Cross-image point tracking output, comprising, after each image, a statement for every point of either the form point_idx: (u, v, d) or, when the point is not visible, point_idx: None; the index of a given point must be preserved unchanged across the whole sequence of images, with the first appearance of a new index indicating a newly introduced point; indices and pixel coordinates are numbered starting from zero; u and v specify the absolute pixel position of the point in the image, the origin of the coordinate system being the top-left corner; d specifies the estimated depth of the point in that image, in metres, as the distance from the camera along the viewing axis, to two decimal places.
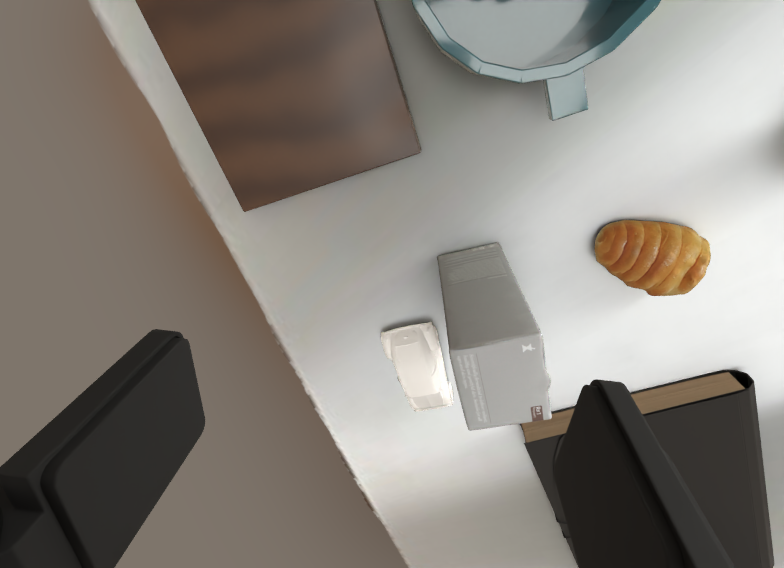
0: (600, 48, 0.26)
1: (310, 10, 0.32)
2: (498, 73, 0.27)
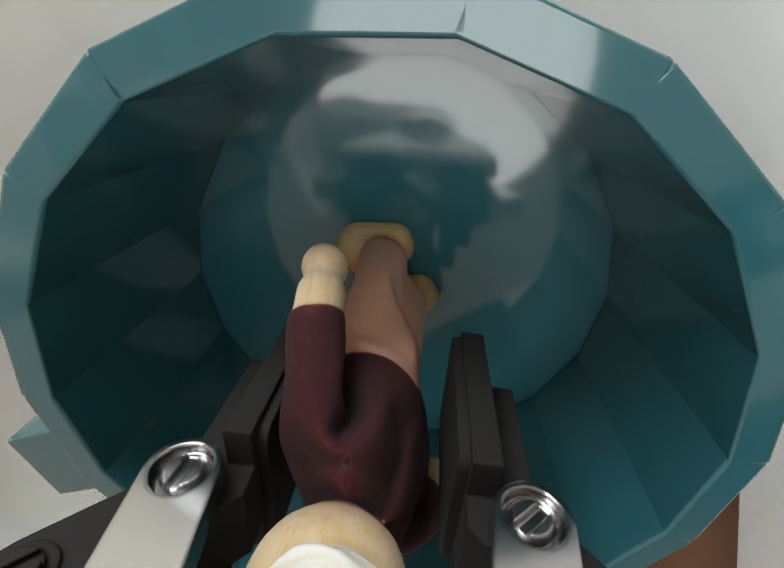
0: (761, 255, 0.07)
1: None
2: (711, 508, 0.09)
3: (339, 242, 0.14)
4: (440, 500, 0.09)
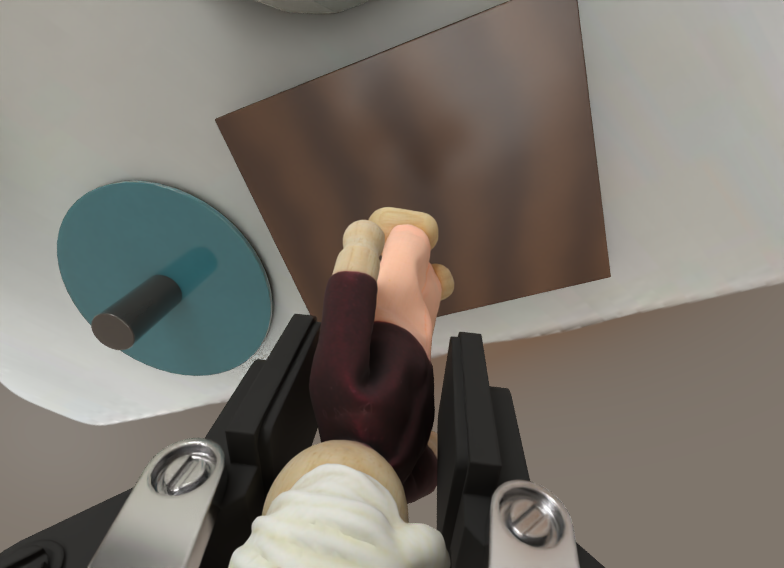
0: None
1: (375, 149, 0.26)
2: None
3: None
4: (438, 499, 0.09)
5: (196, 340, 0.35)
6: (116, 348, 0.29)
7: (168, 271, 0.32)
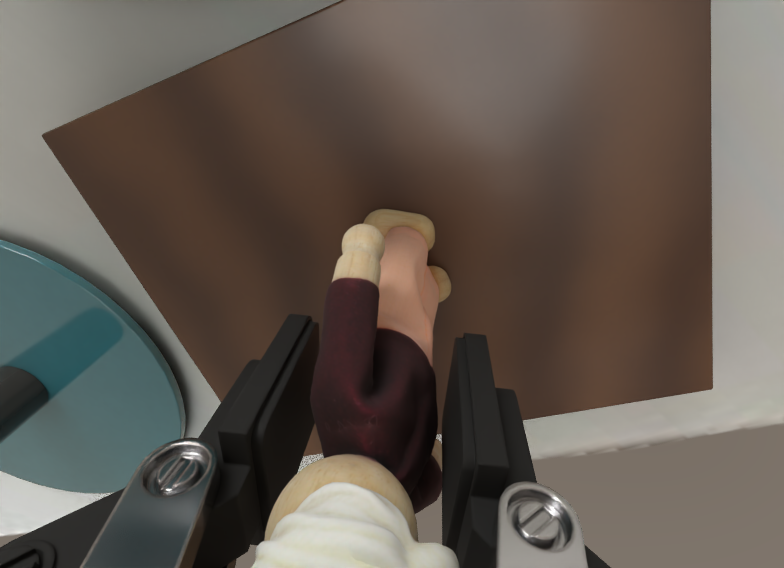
0: None
1: (319, 186, 0.15)
2: None
3: None
4: (443, 501, 0.09)
5: (80, 451, 0.24)
6: None
7: (22, 362, 0.21)
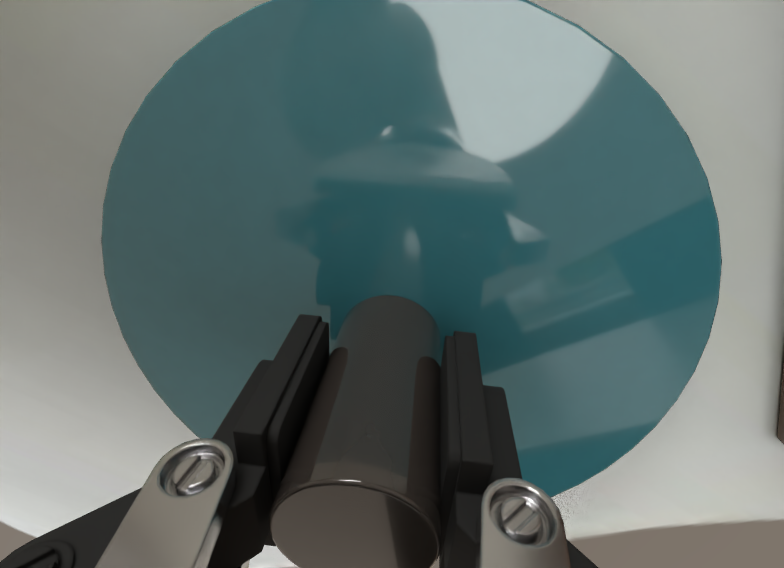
0: None
1: None
2: None
3: None
4: None
5: None
6: None
7: (419, 287, 0.11)
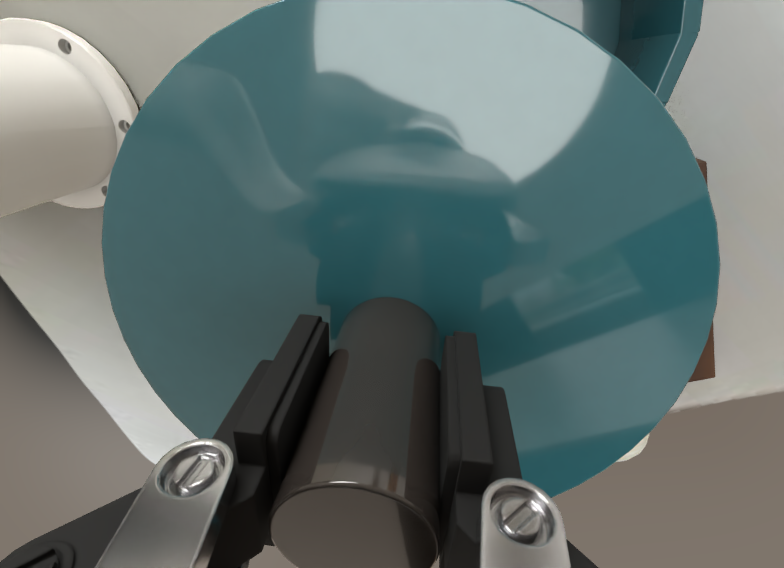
0: None
1: None
2: (674, 72, 0.19)
3: None
4: None
5: None
6: None
7: (418, 289, 0.11)
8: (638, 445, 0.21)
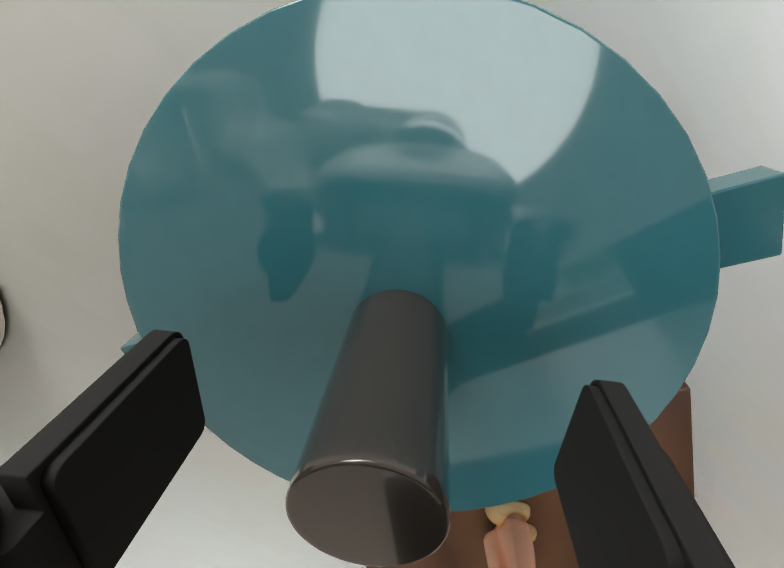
0: None
1: None
2: None
3: (489, 509, 0.25)
4: None
5: None
6: (360, 561, 0.08)
7: (426, 282, 0.12)
8: None
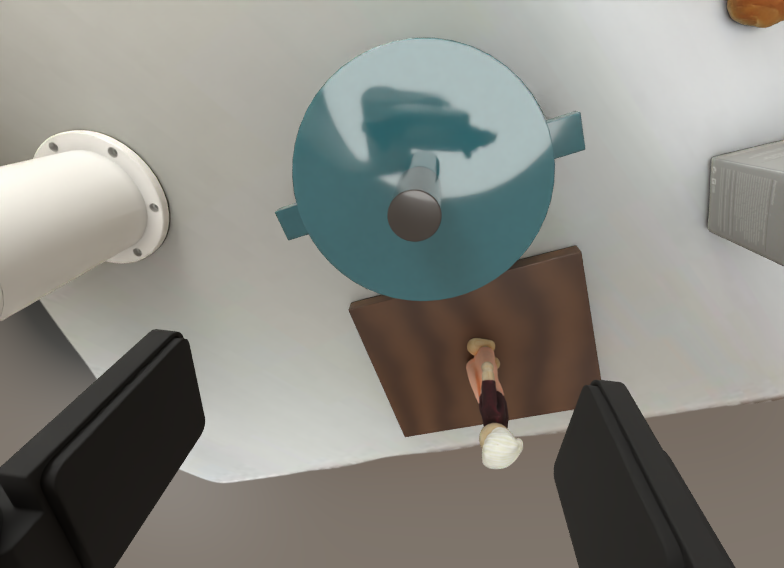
0: None
1: (452, 329, 0.40)
2: None
3: (469, 344, 0.40)
4: None
5: (439, 254, 0.30)
6: (411, 239, 0.23)
7: (432, 162, 0.27)
8: (510, 458, 0.30)
